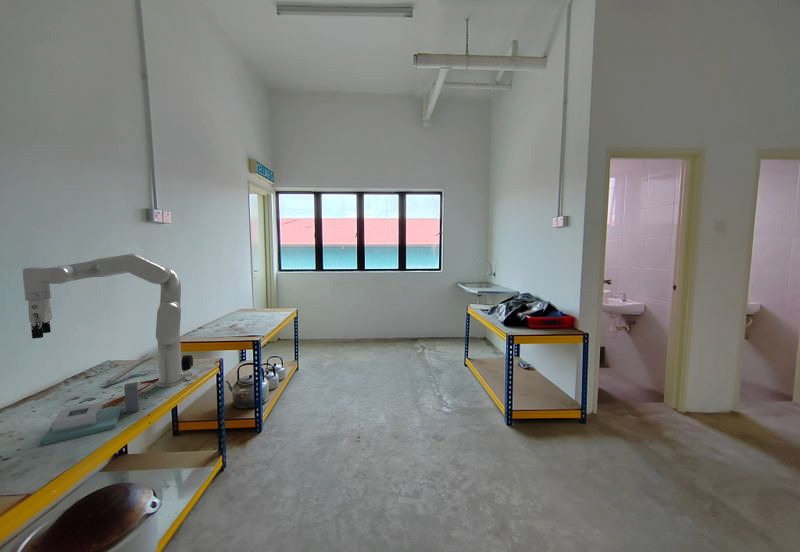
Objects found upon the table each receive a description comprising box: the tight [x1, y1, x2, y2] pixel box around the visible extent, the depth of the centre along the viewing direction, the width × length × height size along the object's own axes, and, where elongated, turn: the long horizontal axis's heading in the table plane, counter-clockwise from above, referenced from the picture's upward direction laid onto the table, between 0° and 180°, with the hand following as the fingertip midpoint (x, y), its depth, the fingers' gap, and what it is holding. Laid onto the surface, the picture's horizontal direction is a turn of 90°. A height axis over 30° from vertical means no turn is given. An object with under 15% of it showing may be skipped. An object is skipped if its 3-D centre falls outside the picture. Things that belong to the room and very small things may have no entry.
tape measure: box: [181, 354, 198, 371], centre depth 196 cm, size 15×4×8 cm, turn 17°
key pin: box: [123, 381, 140, 415], centre depth 143 cm, size 4×4×12 cm
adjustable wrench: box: [105, 352, 156, 386], centre depth 179 cm, size 25×6×2 cm, turn 160°
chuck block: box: [41, 402, 124, 446], centre depth 133 cm, size 20×18×6 cm
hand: (41, 335), depth 146 cm, fingers open, 9 cm apart
